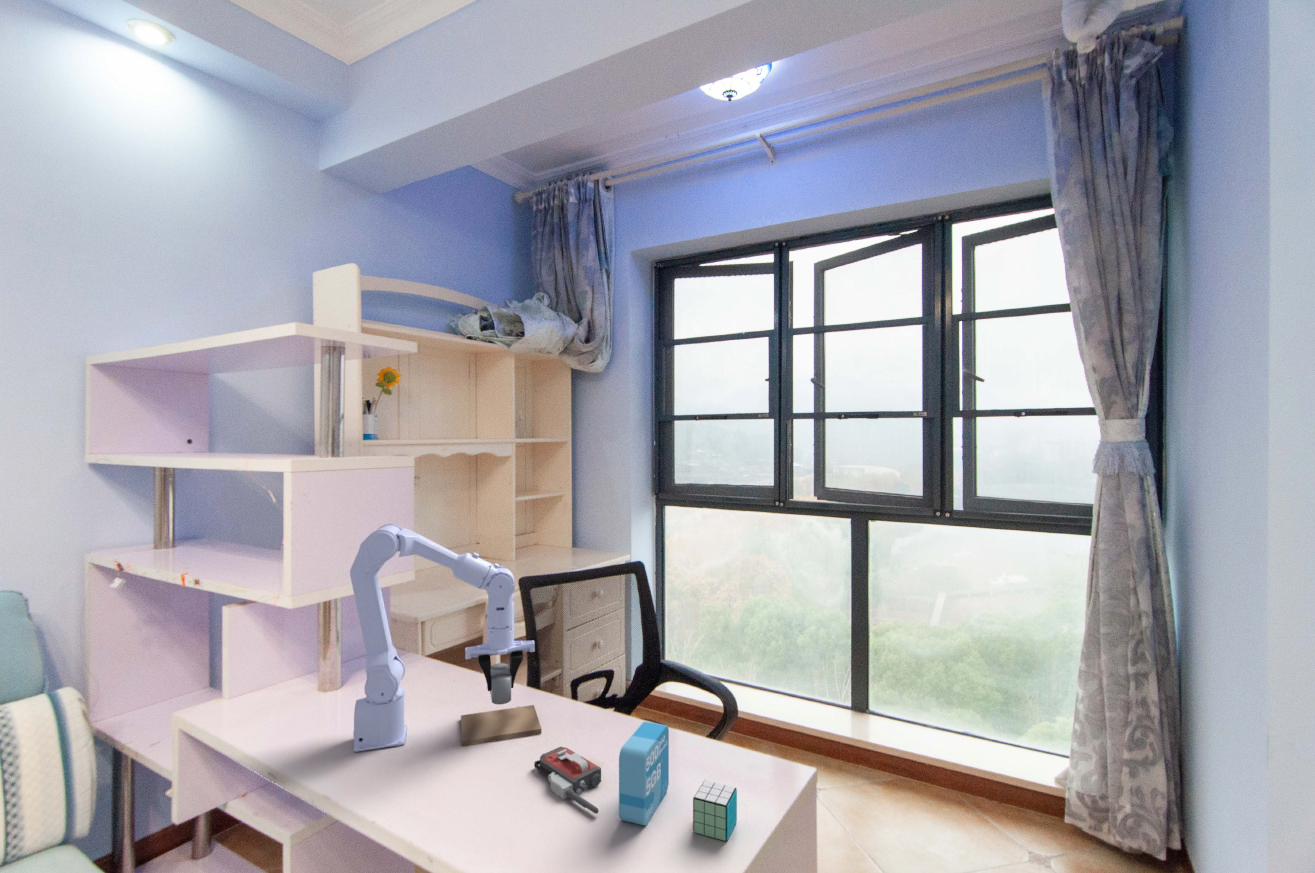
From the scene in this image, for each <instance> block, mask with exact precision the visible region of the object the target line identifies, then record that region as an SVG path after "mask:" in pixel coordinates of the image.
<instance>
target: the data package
mask: <svg viewBox="0 0 1315 873" xmlns="http://www.w3.org/2000/svg"><path fill="white" fill-rule="evenodd" d="M669 730H670V729H669V727H668V725H666V724H661V723H660V724H659V723H655V722H649V721H642V723H641V724H640V725H639V726H638V727H637V728H636V729H635V731H634V732H633V734H631V735H630V737H629V738H628V739H627V741H625V743H624V744H623V745H622V746H621V748H620V751H619V755H618V818H619V819H620V820H621V821H624V822H629V823H633V824H637V825H640V826H641V825H642V826H647V825H648V823H649V822H650V820H651V819H652V817H653V816H654V813H655V812H656V811H657V809H658V807H659V806H660V804H661V802H662V800H663V799H664V798H665V797H666V794H667V792H668V790H669V789H668V788H669V784H670V783H669V778H670V777H669V773H670V772H669V770H670V768H669V766H670V764H669V762H670V761H669V760H670V758H669V754H670V753H669V752H670V749H669V748H670V745H669V744H670V743H669V741H670V740H669V739H670V738H669V736H670V734H669V732H670V731H669Z"/></svg>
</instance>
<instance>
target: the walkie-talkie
mask: <svg viewBox="0 0 1315 873" xmlns="http://www.w3.org/2000/svg"><path fill="white" fill-rule="evenodd" d="M533 763H534V764H533V766H534V768H535V769H536V770H538V771H539V773H540V774H542V776H545V777H546V778H547V779H548V782H549V783H550V791H551V792H553V793H554V794H555V795H557V796H558V797H560V799H561V800H563V801H564V800H566V799H569V800H573V801H574V802H575V803H577V804H579V805H580V806H581V807H583V808H584V809H587V810H589V811H590V812H592V813H593V814H597V815H598V813H599V808H598V807H597V806H595V805H594V804H592V803H590V802H589V801H588V800H587V799H585V798H583V797H582V796H580V795H581V794H582V793H583V792H584V791H586V790H588V789H590V788H592V787H594V788H596V787H598V786H599V785H600V783H601V782H602V767H600V766H598V765H596V764H595V763H593V762H592V761H590V760H588V759H587V758H585V757H583V756H582V755H580V754H578V753H576V752H574V751H573V750H571V749H569V748H568V747H564V746H559V747H556V748H554V749H552V750H549V751H547V752H545V753H543V754H541V756H540V757H539V760H535V762H533Z"/></svg>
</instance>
